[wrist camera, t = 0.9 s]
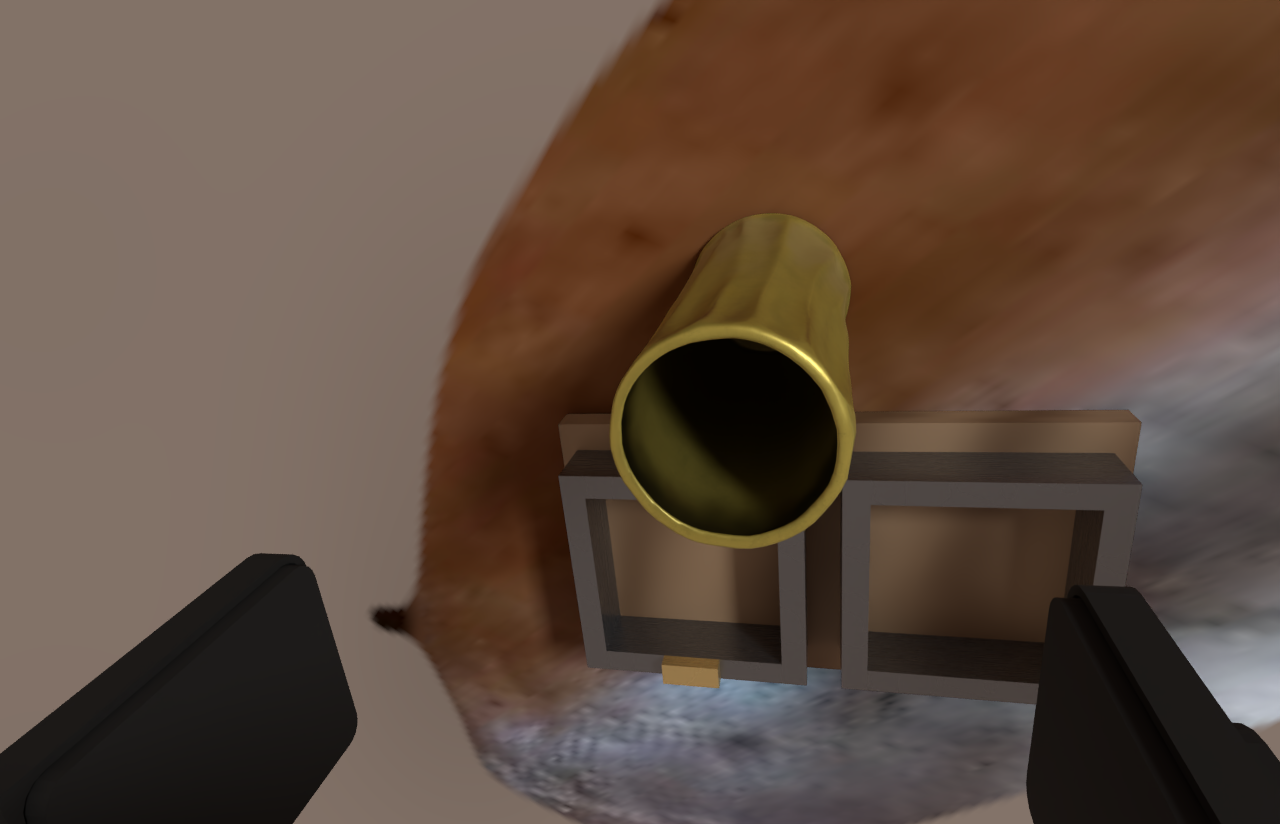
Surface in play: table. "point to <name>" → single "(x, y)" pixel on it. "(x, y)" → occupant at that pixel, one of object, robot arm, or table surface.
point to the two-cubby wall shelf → (857, 576)
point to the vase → (744, 390)
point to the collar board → (879, 540)
